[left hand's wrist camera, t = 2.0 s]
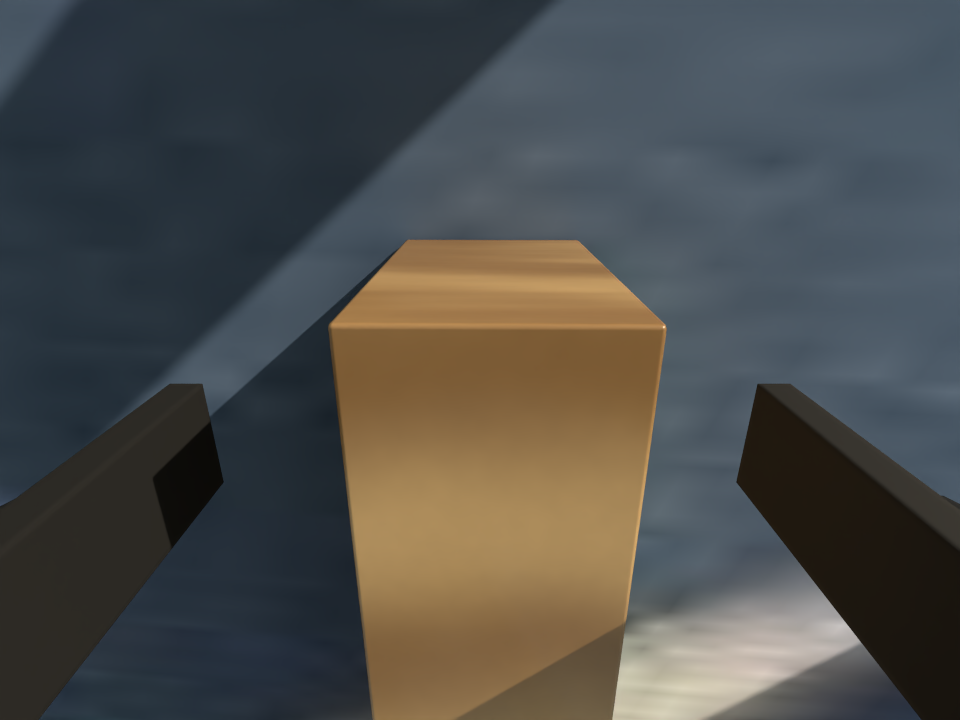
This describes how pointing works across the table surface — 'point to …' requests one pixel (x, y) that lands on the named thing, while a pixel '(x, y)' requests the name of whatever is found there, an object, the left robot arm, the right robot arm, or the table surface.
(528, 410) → the oak bar
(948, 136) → the table surface
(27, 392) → the table surface
